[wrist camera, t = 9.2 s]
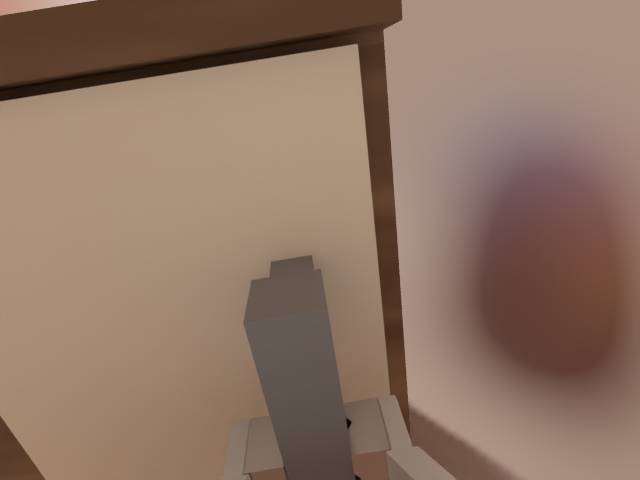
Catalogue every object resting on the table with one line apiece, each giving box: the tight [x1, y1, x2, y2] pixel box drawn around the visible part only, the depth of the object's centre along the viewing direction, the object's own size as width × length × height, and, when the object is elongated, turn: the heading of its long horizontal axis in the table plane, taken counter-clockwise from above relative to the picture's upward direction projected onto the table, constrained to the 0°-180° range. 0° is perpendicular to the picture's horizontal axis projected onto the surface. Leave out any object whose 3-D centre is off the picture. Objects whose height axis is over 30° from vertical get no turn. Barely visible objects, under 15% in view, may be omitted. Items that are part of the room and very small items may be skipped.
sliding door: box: [0, 44, 390, 480], centre depth 11 cm, size 5×13×19 cm, turn 94°
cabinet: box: [0, 0, 411, 480], centre depth 19 cm, size 16×26×22 cm, turn 94°
